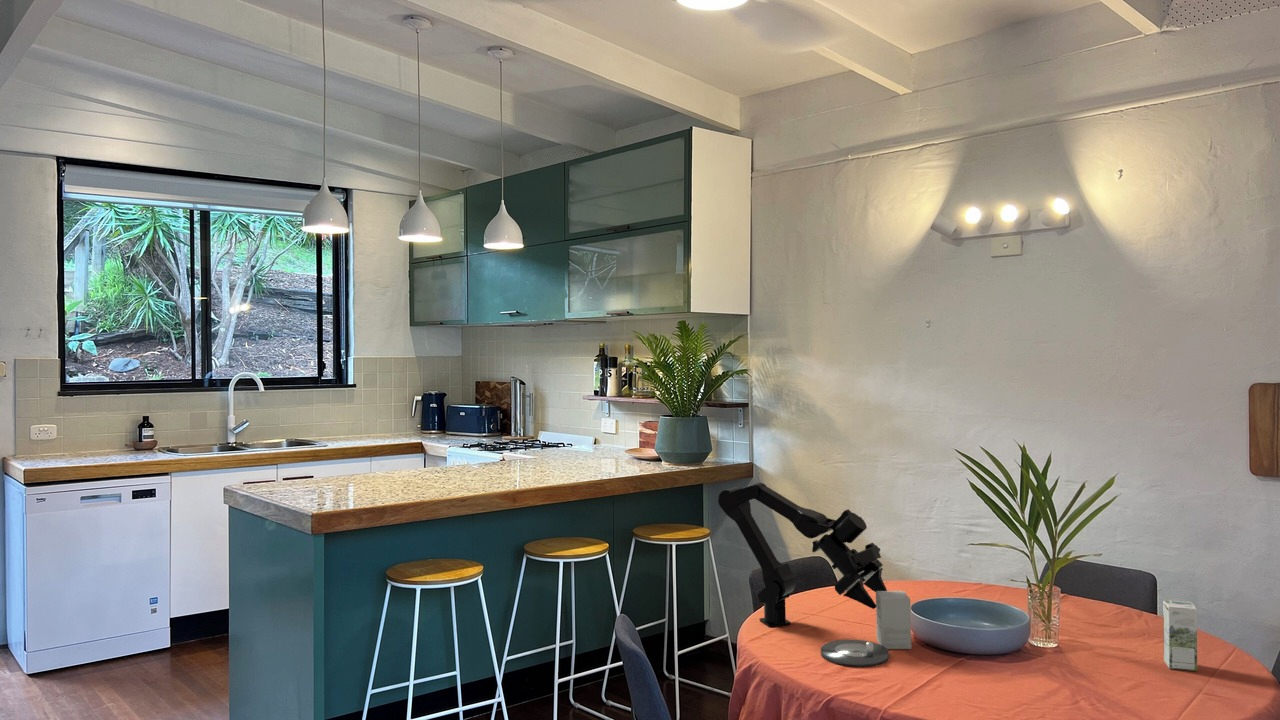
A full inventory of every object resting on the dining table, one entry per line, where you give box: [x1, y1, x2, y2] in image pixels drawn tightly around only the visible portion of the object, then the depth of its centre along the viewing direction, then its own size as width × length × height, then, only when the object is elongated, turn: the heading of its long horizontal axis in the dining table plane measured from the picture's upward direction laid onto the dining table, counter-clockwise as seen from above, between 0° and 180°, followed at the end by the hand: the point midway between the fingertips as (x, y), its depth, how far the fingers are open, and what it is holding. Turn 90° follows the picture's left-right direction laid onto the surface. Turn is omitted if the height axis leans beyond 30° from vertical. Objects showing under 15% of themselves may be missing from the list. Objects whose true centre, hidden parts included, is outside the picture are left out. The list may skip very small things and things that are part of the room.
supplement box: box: [875, 590, 912, 650], centre depth 224 cm, size 7×7×13 cm
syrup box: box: [1162, 599, 1198, 672], centre depth 205 cm, size 6×6×14 cm
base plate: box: [820, 638, 890, 668], centre depth 217 cm, size 16×16×4 cm
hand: (882, 603), depth 226 cm, fingers open, 9 cm apart
